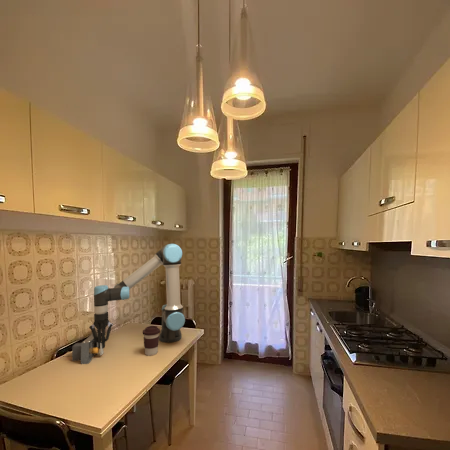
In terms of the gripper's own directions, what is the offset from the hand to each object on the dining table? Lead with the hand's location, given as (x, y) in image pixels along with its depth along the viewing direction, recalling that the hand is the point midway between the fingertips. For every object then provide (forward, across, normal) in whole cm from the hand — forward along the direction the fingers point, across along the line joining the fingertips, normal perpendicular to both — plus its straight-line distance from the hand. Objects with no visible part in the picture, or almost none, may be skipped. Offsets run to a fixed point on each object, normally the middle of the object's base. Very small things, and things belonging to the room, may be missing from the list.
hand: (101, 353), depth 150 cm
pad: (+1, +18, -6) cm, 19 cm away
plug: (+2, +8, 0) cm, 9 cm away
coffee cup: (+3, -28, -1) cm, 28 cm away
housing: (+2, +6, 0) cm, 6 cm away
